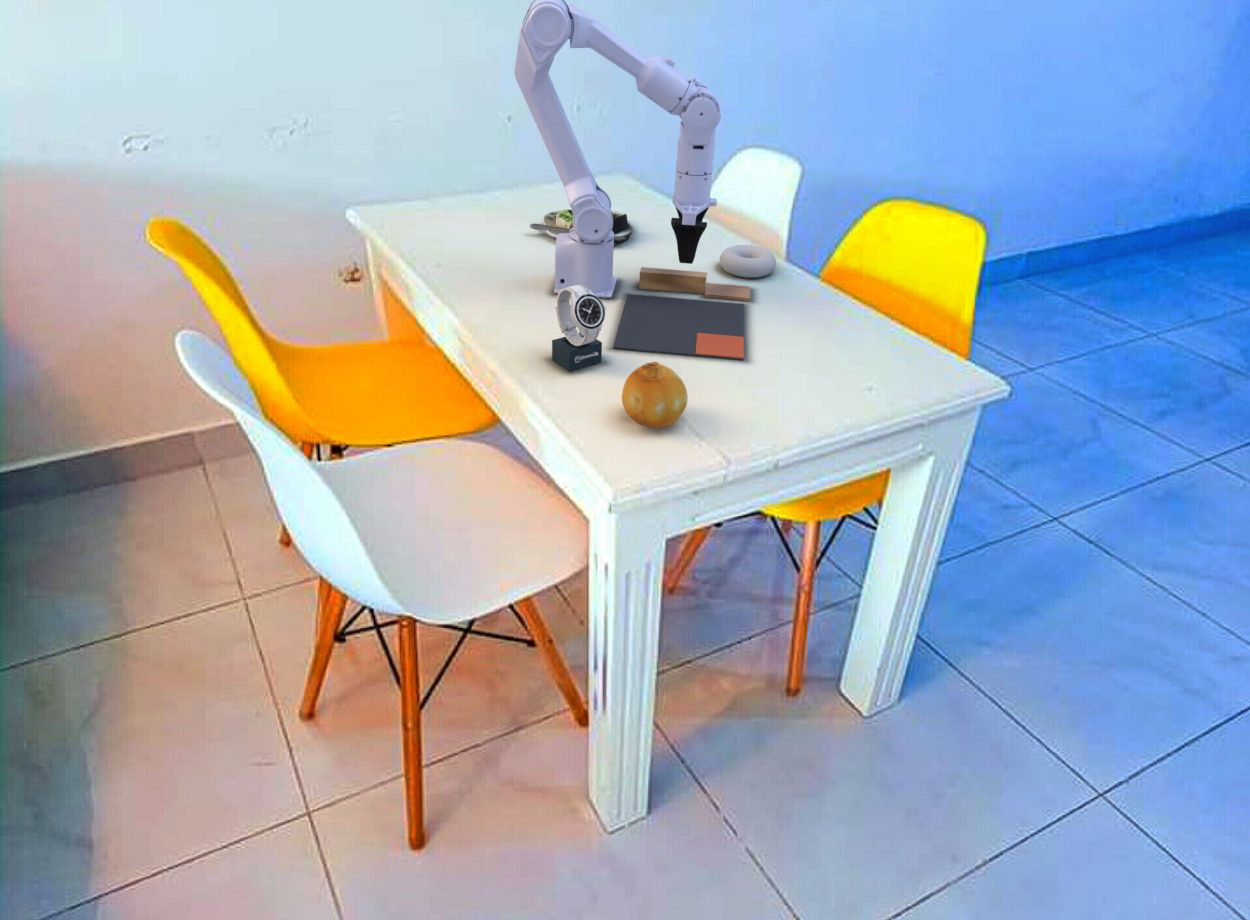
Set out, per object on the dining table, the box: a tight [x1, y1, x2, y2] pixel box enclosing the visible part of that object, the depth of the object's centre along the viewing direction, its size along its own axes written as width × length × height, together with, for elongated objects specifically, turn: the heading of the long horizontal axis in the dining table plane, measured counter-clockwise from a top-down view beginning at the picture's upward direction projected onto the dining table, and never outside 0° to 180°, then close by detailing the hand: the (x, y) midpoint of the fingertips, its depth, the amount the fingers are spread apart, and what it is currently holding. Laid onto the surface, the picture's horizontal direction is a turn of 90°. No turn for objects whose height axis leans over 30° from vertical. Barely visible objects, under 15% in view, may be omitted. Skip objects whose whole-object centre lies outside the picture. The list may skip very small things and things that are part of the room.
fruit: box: [621, 361, 689, 429], centre depth 115 cm, size 8×8×8 cm
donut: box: [719, 244, 777, 279], centre depth 161 cm, size 10×4×10 cm
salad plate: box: [529, 209, 633, 245], centre depth 173 cm, size 19×18×5 cm
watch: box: [551, 285, 607, 373], centre depth 127 cm, size 6×8×11 cm
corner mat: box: [612, 293, 745, 361], centre depth 141 cm, size 19×20×1 cm
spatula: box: [638, 266, 751, 302], centre depth 152 cm, size 18×5×3 cm, turn 84°
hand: (687, 254), depth 150 cm, fingers open, 7 cm apart
